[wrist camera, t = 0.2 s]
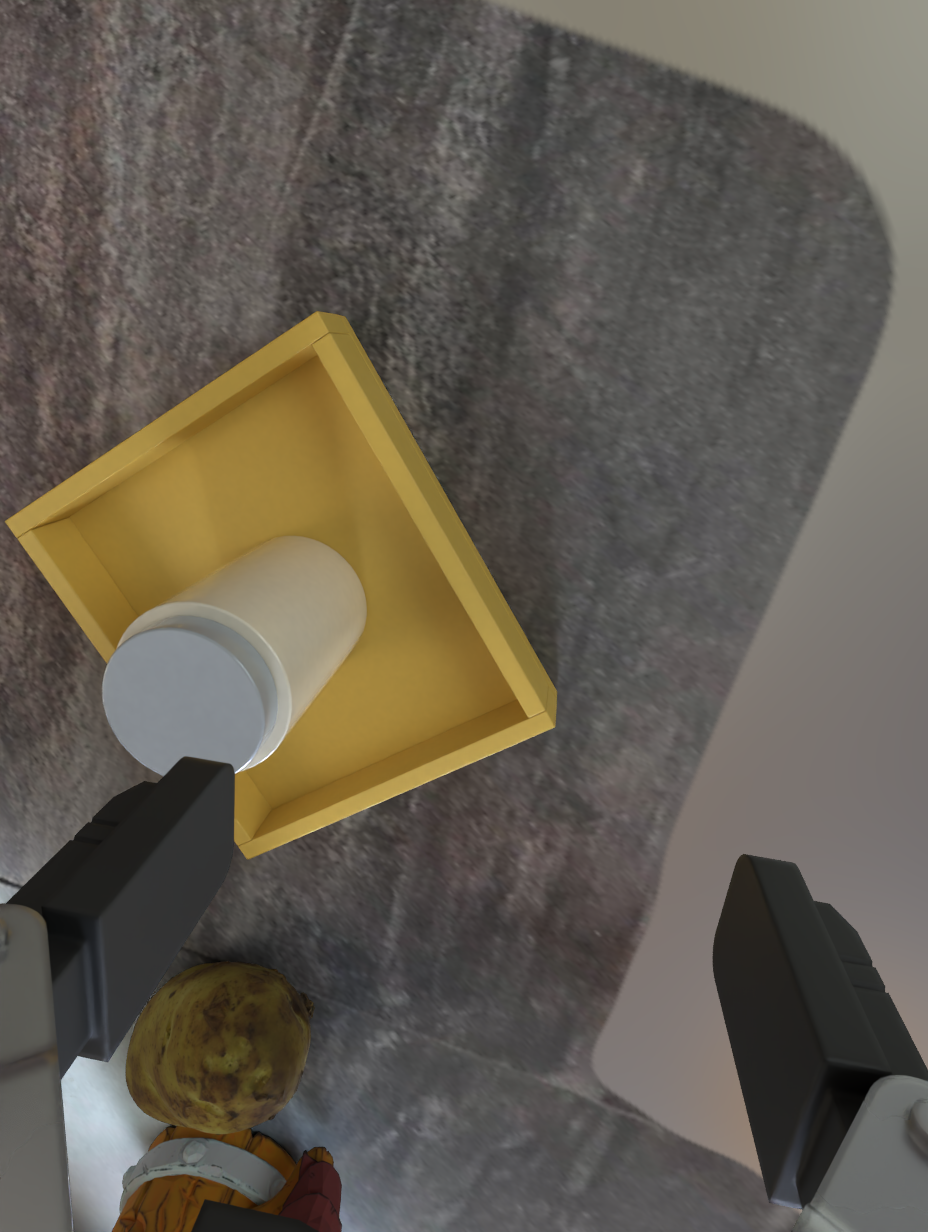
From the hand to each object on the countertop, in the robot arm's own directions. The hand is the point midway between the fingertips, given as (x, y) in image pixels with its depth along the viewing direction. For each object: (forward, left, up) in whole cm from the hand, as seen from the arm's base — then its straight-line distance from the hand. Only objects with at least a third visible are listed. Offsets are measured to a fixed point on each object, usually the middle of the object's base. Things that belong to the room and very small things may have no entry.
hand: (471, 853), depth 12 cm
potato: (+14, -26, -20) cm, 36 cm away
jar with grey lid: (-3, -10, -19) cm, 22 cm away
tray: (-3, -10, -20) cm, 23 cm away
